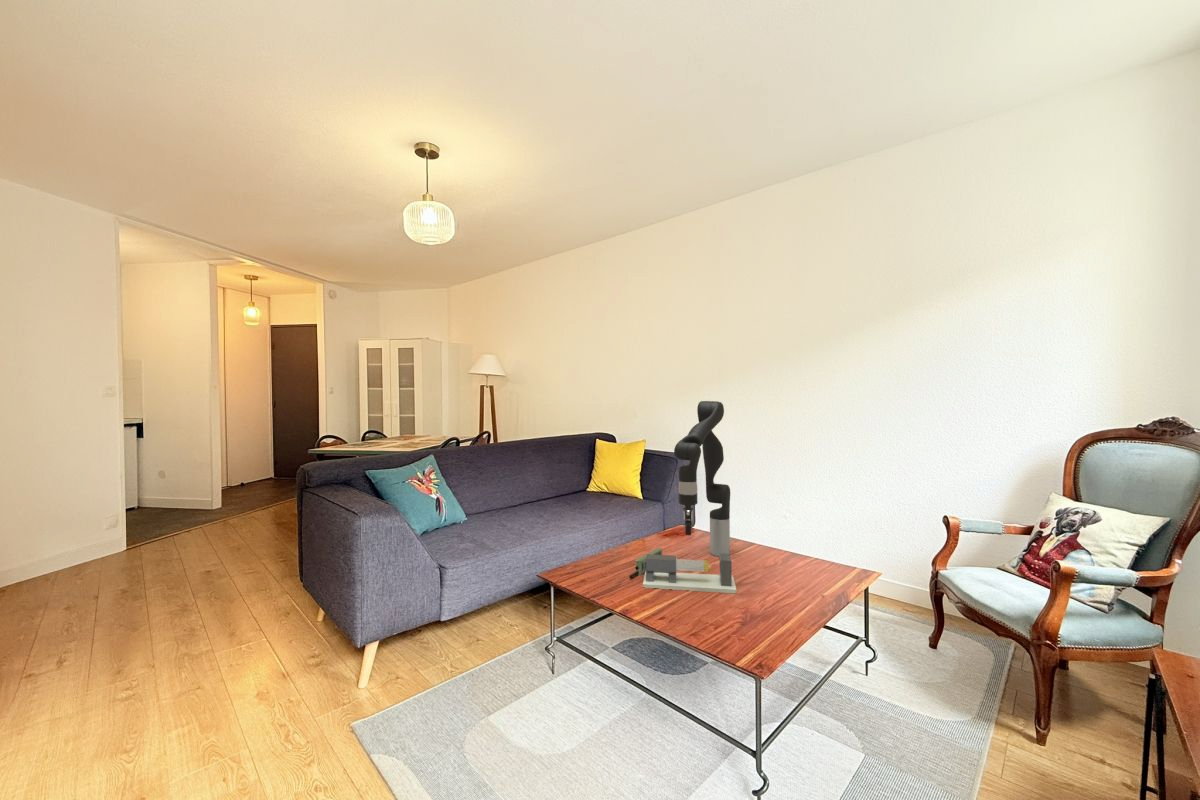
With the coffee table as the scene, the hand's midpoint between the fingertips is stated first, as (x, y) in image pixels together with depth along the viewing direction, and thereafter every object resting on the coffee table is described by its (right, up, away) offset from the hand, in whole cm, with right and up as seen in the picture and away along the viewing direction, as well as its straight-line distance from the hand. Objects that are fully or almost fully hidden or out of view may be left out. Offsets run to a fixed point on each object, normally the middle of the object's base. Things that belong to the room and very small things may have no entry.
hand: (688, 531), depth 193 cm
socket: (+15, -19, -2) cm, 24 cm away
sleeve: (-11, -20, +2) cm, 22 cm away
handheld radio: (-16, -21, +15) cm, 31 cm away
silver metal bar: (-4, -15, +1) cm, 16 cm away
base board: (0, -21, 0) cm, 21 cm away
